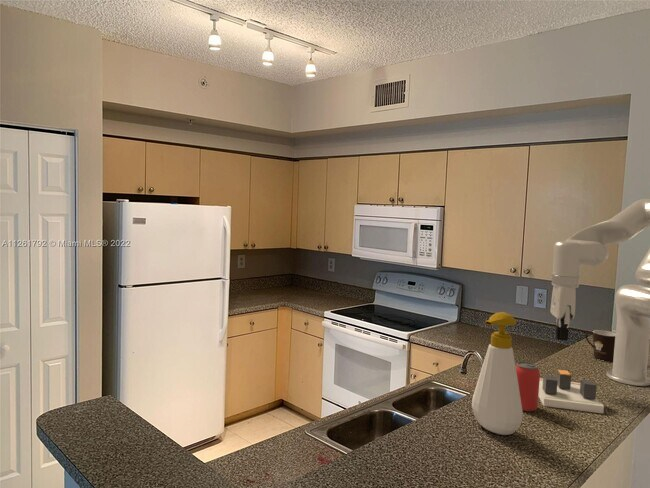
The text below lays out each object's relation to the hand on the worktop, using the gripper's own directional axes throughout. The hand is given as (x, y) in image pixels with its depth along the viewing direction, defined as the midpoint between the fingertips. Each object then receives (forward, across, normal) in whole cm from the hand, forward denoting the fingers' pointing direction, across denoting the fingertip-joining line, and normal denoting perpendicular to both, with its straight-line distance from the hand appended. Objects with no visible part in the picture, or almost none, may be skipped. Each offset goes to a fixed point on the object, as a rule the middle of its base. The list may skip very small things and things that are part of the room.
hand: (561, 339), depth 149 cm
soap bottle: (+14, +40, -24) cm, 49 cm away
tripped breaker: (+12, +7, -1) cm, 14 cm away
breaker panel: (+15, +10, -1) cm, 18 cm away
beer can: (+15, +22, -14) cm, 30 cm away
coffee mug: (+16, -38, +24) cm, 48 cm away
